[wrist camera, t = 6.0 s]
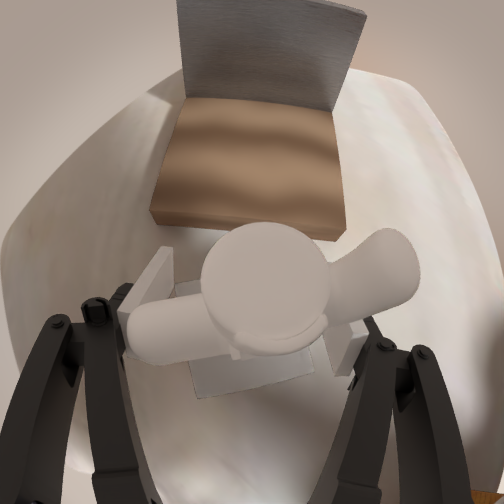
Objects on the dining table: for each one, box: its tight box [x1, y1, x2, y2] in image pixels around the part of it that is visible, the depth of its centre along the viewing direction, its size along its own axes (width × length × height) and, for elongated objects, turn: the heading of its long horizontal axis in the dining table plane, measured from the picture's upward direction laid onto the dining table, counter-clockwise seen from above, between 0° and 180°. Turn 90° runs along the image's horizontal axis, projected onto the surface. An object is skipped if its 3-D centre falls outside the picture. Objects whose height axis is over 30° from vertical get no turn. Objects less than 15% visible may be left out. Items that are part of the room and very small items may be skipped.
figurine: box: [127, 222, 420, 399], centre depth 12 cm, size 7×9×15 cm
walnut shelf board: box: [149, 98, 346, 242], centre depth 24 cm, size 15×15×2 cm
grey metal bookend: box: [176, 0, 367, 113], centre depth 19 cm, size 2×15×12 cm, turn 86°
